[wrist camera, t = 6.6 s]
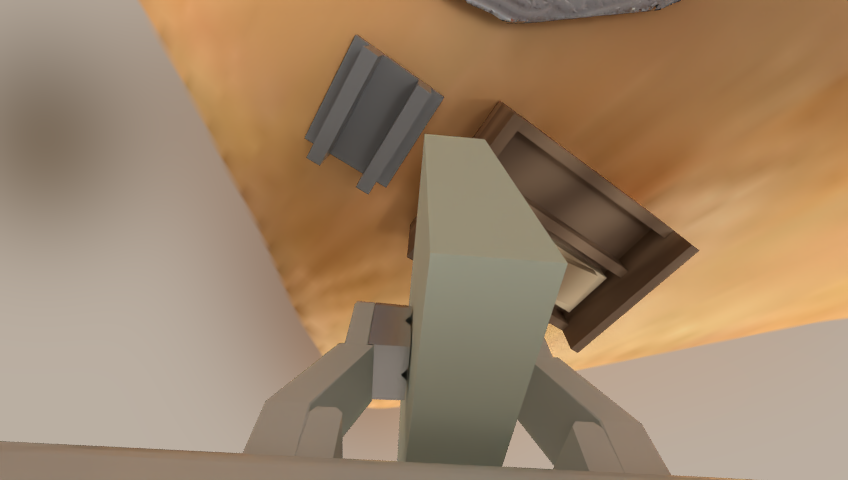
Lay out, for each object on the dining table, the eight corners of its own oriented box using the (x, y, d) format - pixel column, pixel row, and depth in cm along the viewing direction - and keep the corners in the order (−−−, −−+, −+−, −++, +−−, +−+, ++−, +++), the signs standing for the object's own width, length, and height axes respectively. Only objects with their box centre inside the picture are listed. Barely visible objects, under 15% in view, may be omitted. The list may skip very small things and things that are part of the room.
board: (442, 392, 16) (456, 607, 10) (401, 389, 16) (389, 606, 10) (485, 139, 11) (567, 263, 5) (424, 133, 11) (430, 252, 5)
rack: (659, 219, 31) (699, 250, 26) (558, 312, 36) (577, 352, 31) (499, 100, 26) (514, 113, 22) (410, 225, 31) (407, 256, 27)
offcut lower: (600, 270, 32) (606, 278, 31) (564, 303, 34) (569, 312, 33) (544, 233, 30) (548, 240, 29) (509, 270, 32) (512, 278, 31)
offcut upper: (593, 269, 30) (598, 276, 29) (568, 299, 32) (572, 306, 31) (547, 248, 29) (551, 255, 29) (524, 280, 31) (527, 287, 30)
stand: (443, 96, 26) (445, 104, 23) (386, 184, 30) (381, 202, 26) (357, 34, 25) (346, 34, 21) (306, 136, 28) (291, 148, 25)
